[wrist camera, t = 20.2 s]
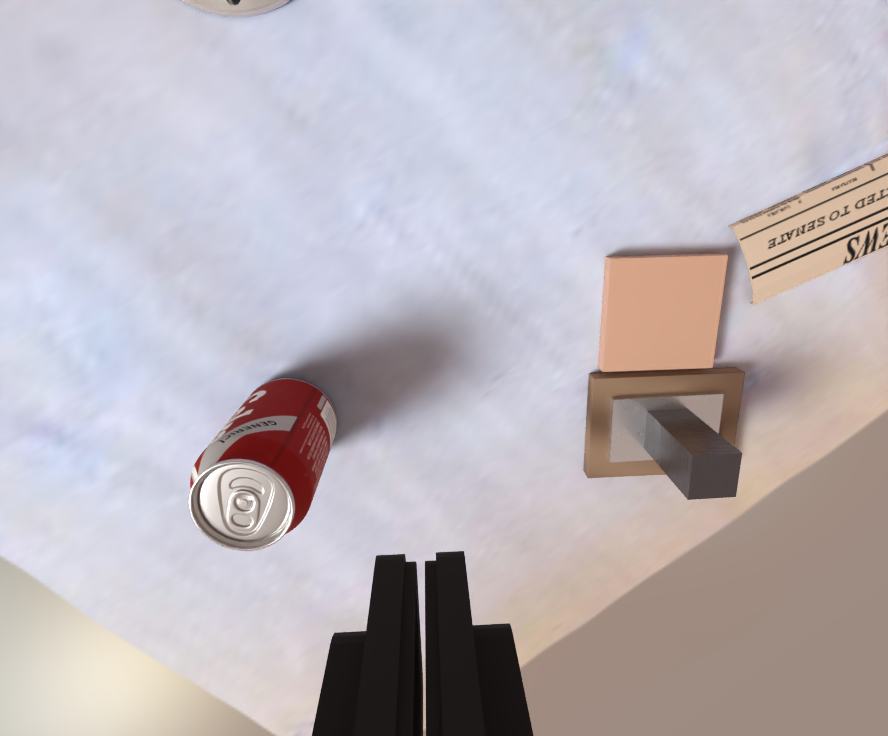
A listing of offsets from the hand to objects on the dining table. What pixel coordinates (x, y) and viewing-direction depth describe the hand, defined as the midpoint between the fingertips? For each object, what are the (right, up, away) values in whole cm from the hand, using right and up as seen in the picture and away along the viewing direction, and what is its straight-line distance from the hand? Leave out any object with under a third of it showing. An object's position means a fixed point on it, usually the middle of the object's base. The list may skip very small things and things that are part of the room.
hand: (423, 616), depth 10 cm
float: (+17, 0, +30) cm, 34 cm away
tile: (+12, +8, +28) cm, 31 cm away
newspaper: (+32, +16, +27) cm, 45 cm away
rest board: (+17, +1, +31) cm, 35 cm away
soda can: (-11, +1, +30) cm, 32 cm away
